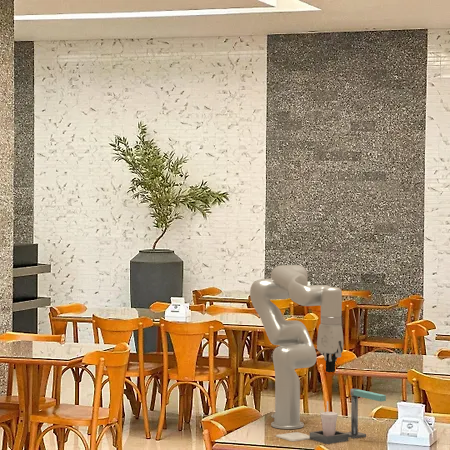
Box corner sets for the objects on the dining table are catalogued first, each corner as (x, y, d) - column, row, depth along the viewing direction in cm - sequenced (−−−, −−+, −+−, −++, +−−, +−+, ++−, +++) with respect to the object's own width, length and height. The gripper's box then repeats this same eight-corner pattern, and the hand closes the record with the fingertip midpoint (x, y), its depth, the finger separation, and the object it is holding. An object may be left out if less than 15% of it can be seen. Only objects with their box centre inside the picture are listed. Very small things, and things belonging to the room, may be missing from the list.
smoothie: (318, 438, 367) (318, 399, 367) (336, 437, 367) (336, 399, 367) (321, 442, 360) (321, 403, 360) (339, 441, 361) (339, 402, 361)
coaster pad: (275, 436, 369) (275, 435, 369) (297, 433, 375) (297, 432, 375) (291, 441, 361) (291, 439, 361) (313, 438, 366) (313, 436, 366)
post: (342, 435, 371) (343, 395, 371) (355, 433, 374) (355, 393, 374) (353, 438, 366) (353, 397, 366) (366, 436, 369) (366, 396, 369)
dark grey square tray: (309, 439, 365) (309, 432, 365) (331, 435, 371) (331, 429, 371) (326, 444, 357) (326, 437, 357) (348, 440, 362) (348, 433, 362)
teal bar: (348, 394, 371) (348, 389, 371) (355, 393, 372) (355, 388, 372) (380, 401, 356) (380, 396, 356) (386, 400, 357) (386, 395, 357)
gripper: (310, 319, 368) (309, 369, 368) (336, 324, 355) (335, 375, 355) (325, 318, 372) (325, 368, 372) (352, 322, 359) (351, 374, 360)
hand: (330, 371), depth 364 cm, fingers closed
